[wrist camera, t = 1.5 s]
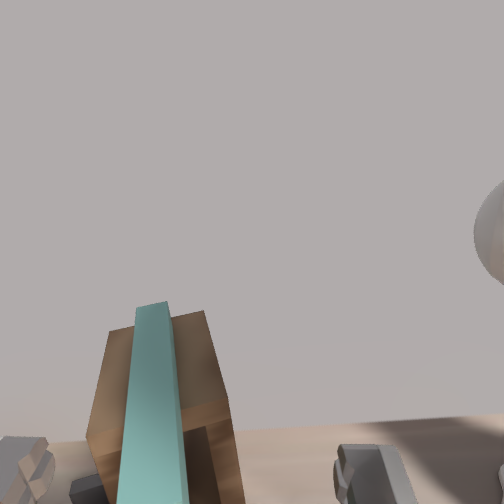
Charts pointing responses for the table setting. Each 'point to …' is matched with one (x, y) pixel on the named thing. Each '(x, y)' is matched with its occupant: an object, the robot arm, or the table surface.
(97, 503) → the domino
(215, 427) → the walnut stand
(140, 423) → the teal tile bar
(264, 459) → the table surface
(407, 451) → the table surface
